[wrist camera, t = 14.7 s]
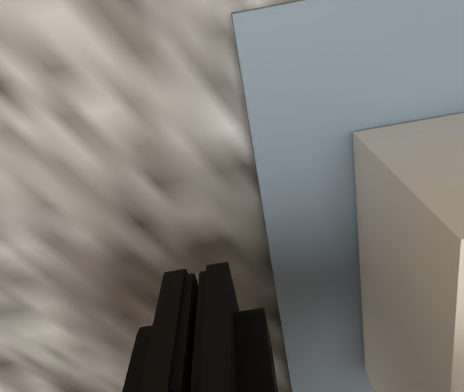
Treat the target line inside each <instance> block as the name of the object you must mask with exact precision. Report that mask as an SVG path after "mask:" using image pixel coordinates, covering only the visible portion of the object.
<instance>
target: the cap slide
mask: <svg viewBox="0 0 464 392" xmlns="http://www.w3.org/2000/svg"><path fill="white" fill-rule="evenodd" d="M353 150H354V169H355V188H356V207H357V225H358V244H359V263H360V282H361V300H362V319H363V338H364V356H365V370H366V372H367V375H368V377H369V380H370V382H371V385H372V387H373V390H374V392H464V113H460V114H454V115H448V116H443V117H437V118H431V119H425V120H420V121H414V122H408V123H402V124H397V125H391V126H385V127H379V128H373V129H368V130H362V131H356V132H353Z"/></svg>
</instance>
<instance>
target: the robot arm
mask: <svg viewBox="0 0 464 392" xmlns="http://www.w3.org/2000/svg"><path fill="white" fill-rule="evenodd" d="M122 392H278V388H277V381H276V374H275V367H274V360H273V354H272V348H271V342H270V336H269V331H268V325H267V320H266V315H265V310H264V308H259V309H252V310H246V311H240V312H239V308H238V304H237V299H236V295H235V290H234V286H233V281H232V277H231V273H230V268H229V264H228V262H224V263H218V264H212V265H207V268H206V271H203V272H200V274H199V286H198V283H197V279H196V276H195V274H194V273H191V274H188V272H187V270H186V269H182V270H176V271H170V272H165V273H164V275H163V280H162V285H161V289H160V294H159V299H158V304H157V308H156V313H155V318H154V322H153V325H152V326H146V327H141V328H140V329H139V330H138V333H137V336H136V340H135V344H134V348H133V352H132V356H131V360H130V364H129V368H128V372H127V375H126V379H125V383H124V387H123V391H122Z"/></svg>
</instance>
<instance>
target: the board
mask: <svg viewBox="0 0 464 392" xmlns="http://www.w3.org/2000/svg"><path fill="white" fill-rule="evenodd" d="M231 15H232V22H233V28H234V34H235V40H236V47H237V53H238V59H239V65H240V71H241V78H242V84H243V90H244V96H245V103H246V109H247V115H248V121H249V127H250V134H251V140H252V146H253V152H254V159H255V165H256V171H257V177H258V183H259V190H260V196H261V202H262V208H263V214H264V221H265V227H266V233H267V239H268V246H269V252H270V258H271V264H272V270H273V277H274V283H275V289H276V295H277V302H278V308H279V314H280V320H281V326H282V333H283V339H284V345H285V351H286V358H287V364H288V370H289V376H290V382H291V389H292V392H374V390H373V387H372V385H371V382H370V380H369V377H368V375H367V372H366V370H365V356H364V338H363V319H362V300H361V282H360V263H359V244H358V225H357V207H356V188H355V169H354V150H353V132H356V131H362V130H368V129H373V128H379V127H385V126H391V125H397V124H402V123H408V122H414V121H420V120H425V119H431V118H437V117H443V116H448V115H454V114H460V113H464V0H298V1H293V2H287V3H282V4H277V5H272V6H266V7H261V8H256V9H251V10H246V11H240V12H235V13H231Z"/></svg>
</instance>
